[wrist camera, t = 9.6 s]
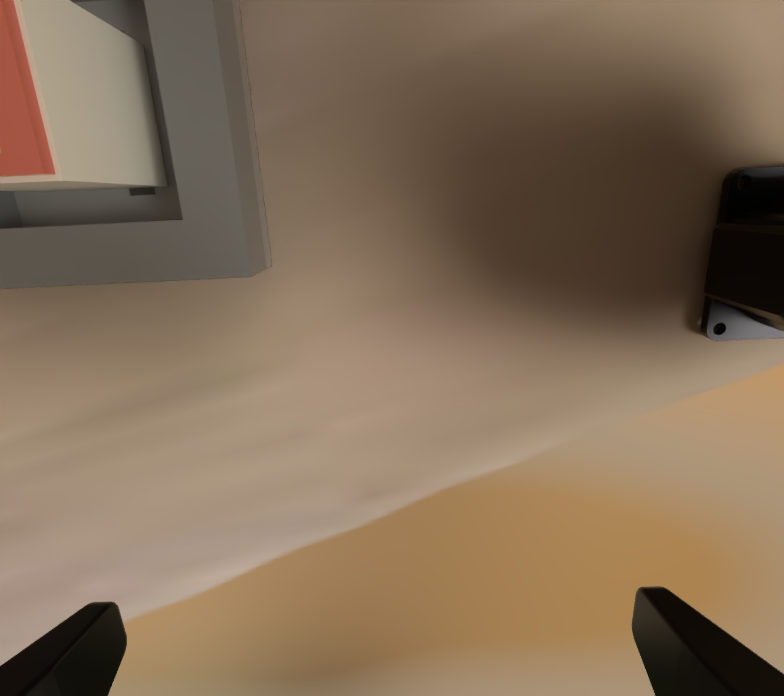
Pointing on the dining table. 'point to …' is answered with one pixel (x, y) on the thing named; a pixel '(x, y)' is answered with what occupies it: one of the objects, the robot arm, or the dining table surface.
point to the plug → (73, 102)
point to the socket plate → (181, 161)
